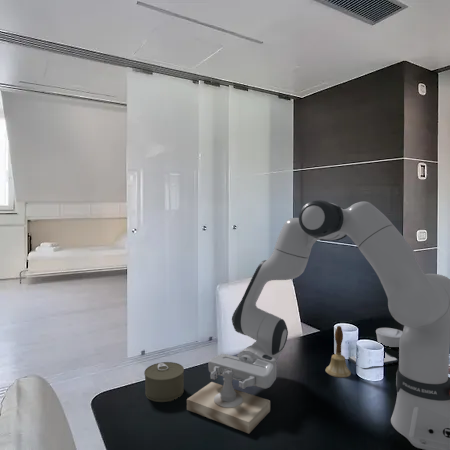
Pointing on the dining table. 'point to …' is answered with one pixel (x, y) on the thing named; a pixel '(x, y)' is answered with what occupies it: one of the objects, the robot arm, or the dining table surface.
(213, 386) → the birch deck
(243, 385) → the robot arm
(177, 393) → the can
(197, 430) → the dining table surface
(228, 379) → the rook chess piece
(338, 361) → the hand bell
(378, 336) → the ramekin
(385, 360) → the phone case
